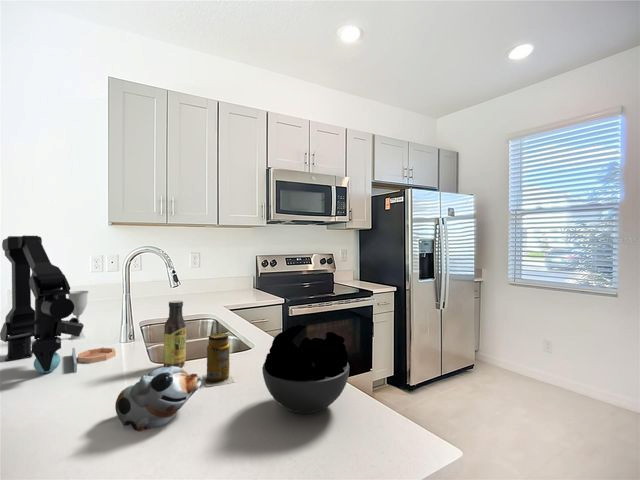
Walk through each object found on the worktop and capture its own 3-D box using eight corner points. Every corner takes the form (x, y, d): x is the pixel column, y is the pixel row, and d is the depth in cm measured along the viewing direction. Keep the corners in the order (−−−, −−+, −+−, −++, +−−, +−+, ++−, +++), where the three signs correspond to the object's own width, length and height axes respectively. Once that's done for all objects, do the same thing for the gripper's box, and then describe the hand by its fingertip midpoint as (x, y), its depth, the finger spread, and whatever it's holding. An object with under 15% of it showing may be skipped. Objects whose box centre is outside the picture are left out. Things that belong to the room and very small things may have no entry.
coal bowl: (250, 399, 80) (251, 322, 80) (322, 382, 90) (322, 313, 90) (282, 443, 63) (283, 344, 63) (367, 416, 73) (367, 331, 73)
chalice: (62, 338, 129) (62, 292, 129) (80, 334, 135) (80, 290, 135) (74, 341, 126) (74, 293, 126) (92, 336, 132) (92, 291, 132)
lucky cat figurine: (177, 395, 82) (201, 348, 80) (187, 435, 73) (215, 384, 71) (110, 395, 73) (135, 342, 71) (112, 442, 63) (141, 383, 62)
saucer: (77, 356, 109) (77, 351, 109) (112, 350, 116) (112, 345, 116) (78, 365, 102) (78, 360, 102) (116, 358, 108) (116, 353, 108)
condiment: (228, 371, 97) (228, 330, 98) (234, 382, 90) (234, 338, 90) (202, 375, 94) (202, 333, 94) (206, 387, 87) (206, 342, 87)
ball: (34, 371, 97) (34, 350, 97) (60, 366, 100) (60, 346, 100) (32, 378, 92) (33, 356, 92) (60, 372, 96) (60, 352, 96)
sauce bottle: (177, 371, 97) (177, 304, 97) (158, 369, 98) (158, 303, 99) (190, 363, 104) (190, 300, 104) (172, 361, 105) (172, 299, 105)
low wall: (72, 355, 110) (72, 347, 110) (74, 355, 111) (74, 347, 111) (74, 372, 96) (74, 363, 96) (76, 371, 96) (76, 363, 97)
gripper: (83, 316, 94) (83, 371, 94) (80, 306, 109) (79, 353, 109) (31, 322, 87) (31, 381, 87) (35, 310, 102) (35, 361, 102)
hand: (47, 367), depth 96 cm, fingers closed on ball, 6 cm apart
